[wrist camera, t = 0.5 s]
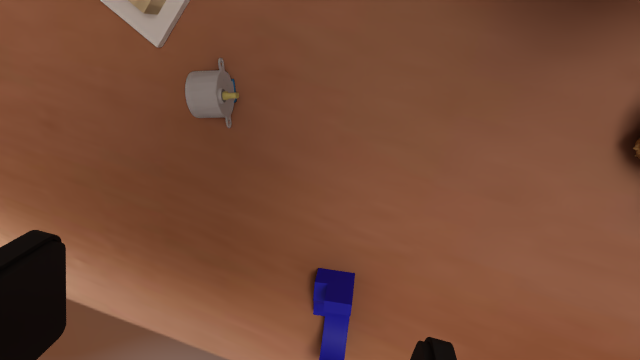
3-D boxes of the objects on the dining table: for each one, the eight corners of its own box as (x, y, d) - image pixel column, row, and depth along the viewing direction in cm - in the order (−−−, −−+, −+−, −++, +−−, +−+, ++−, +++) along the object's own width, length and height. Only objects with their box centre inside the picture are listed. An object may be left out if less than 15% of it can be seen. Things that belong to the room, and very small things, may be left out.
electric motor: (253, 122, 42) (238, 133, 37) (211, 122, 42) (191, 133, 38) (246, 55, 39) (228, 58, 35) (201, 57, 40) (178, 60, 35)
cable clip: (318, 267, 47) (310, 298, 42) (355, 272, 47) (351, 304, 41) (311, 342, 52) (303, 379, 46) (345, 347, 51) (340, 386, 46)
